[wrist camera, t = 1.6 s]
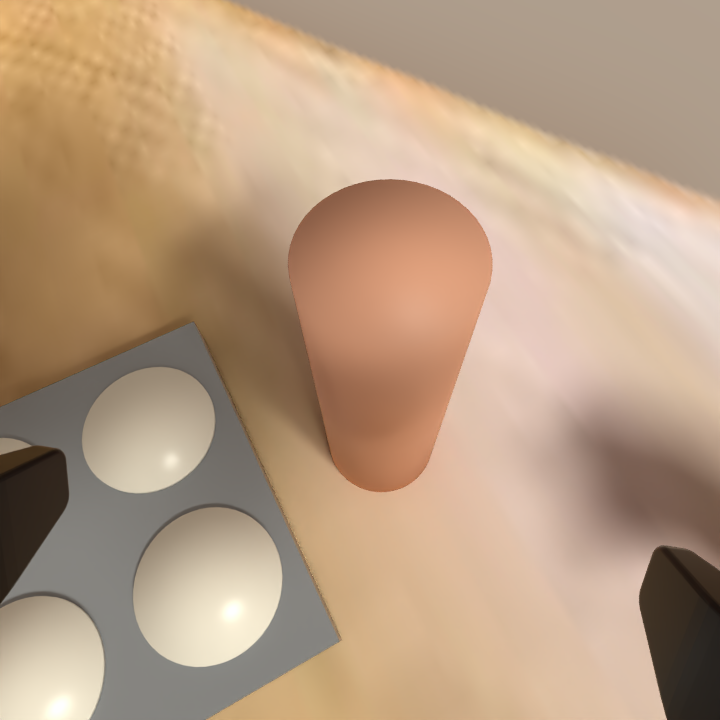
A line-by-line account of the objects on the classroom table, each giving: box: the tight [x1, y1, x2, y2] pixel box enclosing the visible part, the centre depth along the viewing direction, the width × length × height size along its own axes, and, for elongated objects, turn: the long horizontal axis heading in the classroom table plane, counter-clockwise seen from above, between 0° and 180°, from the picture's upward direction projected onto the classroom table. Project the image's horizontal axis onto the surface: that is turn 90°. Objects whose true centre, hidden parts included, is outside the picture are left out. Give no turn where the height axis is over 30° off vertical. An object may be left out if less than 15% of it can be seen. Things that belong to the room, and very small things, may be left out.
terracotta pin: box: [288, 179, 492, 492], centre depth 16 cm, size 4×4×12 cm
